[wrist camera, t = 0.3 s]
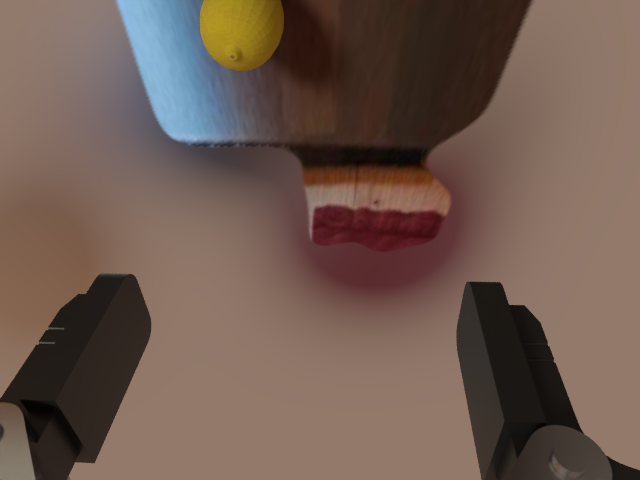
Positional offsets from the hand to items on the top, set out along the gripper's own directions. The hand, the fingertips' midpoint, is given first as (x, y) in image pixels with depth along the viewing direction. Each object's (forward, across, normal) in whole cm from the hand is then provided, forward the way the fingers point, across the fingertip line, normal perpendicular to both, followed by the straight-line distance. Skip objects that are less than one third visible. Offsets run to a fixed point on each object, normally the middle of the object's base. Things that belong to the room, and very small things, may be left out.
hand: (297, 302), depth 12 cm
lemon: (+30, +6, -1) cm, 31 cm away
